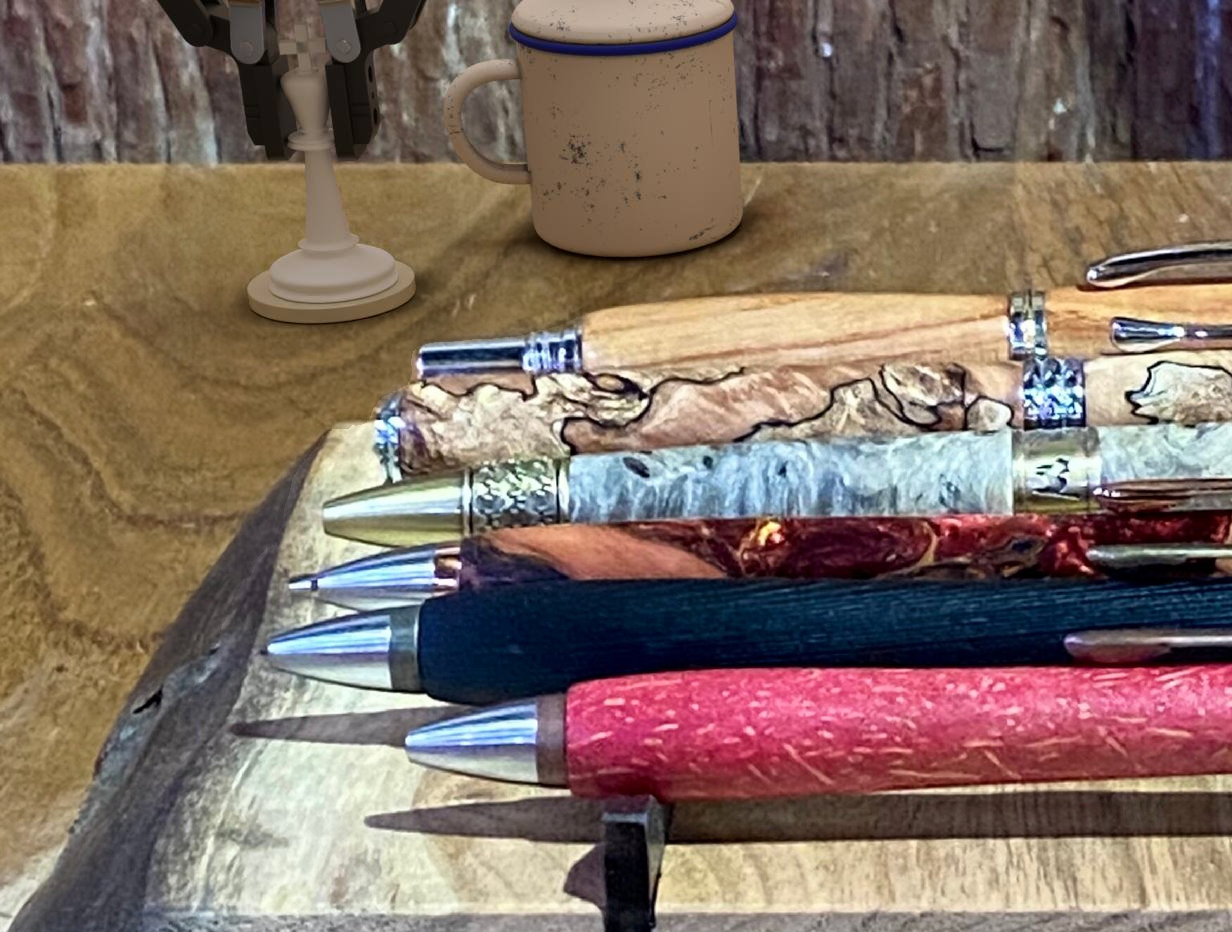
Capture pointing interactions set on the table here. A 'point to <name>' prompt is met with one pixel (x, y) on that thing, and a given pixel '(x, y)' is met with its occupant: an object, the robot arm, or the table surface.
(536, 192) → the teacup with lid
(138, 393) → the table surface
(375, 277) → the chess piece
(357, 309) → the coaster
